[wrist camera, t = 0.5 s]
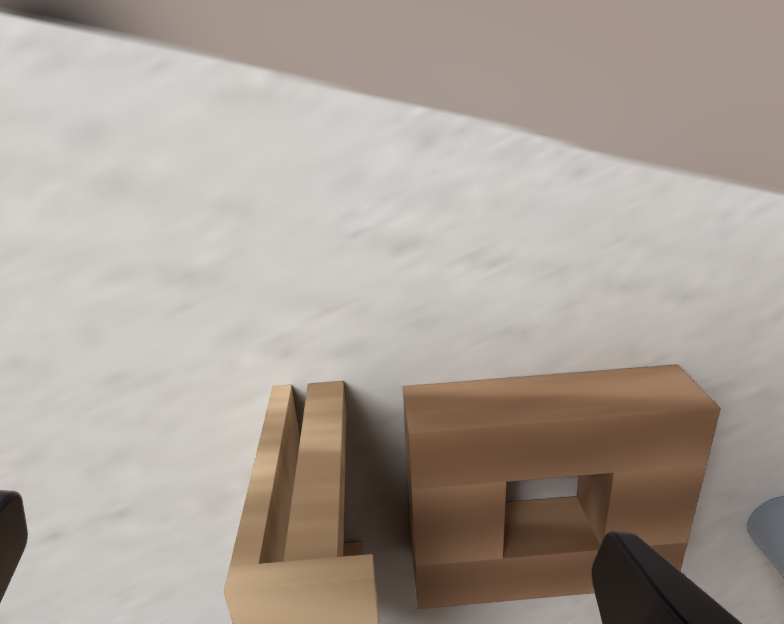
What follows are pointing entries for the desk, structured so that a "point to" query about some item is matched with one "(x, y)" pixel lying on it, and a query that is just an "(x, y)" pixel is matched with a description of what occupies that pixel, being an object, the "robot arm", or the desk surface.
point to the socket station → (473, 491)
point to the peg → (769, 530)
